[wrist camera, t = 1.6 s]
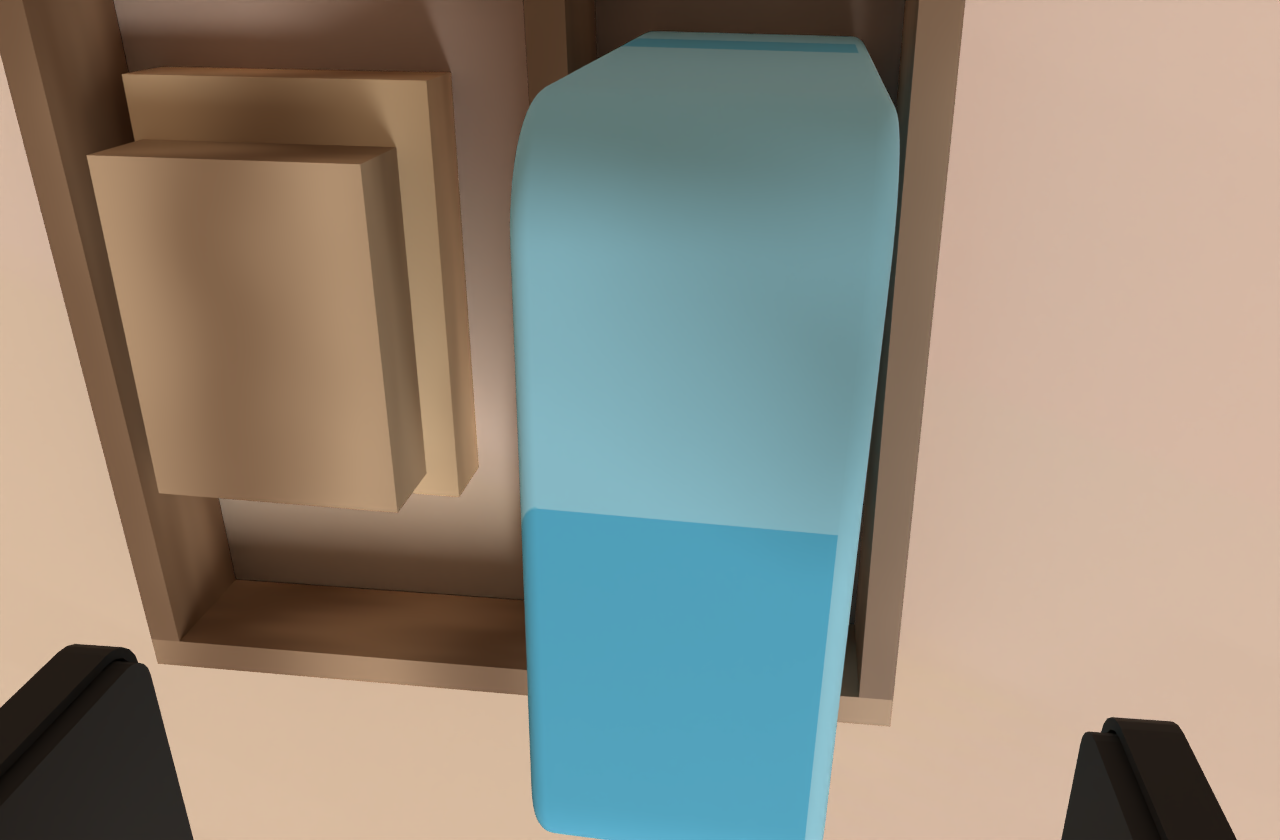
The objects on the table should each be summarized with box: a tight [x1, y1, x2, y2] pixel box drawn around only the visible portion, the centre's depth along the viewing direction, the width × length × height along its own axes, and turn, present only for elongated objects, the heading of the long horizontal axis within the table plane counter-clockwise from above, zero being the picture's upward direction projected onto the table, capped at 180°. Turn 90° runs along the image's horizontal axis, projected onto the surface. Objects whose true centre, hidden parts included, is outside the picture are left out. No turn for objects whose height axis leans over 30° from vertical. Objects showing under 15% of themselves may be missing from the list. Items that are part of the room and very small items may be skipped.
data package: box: [510, 31, 900, 840], centre depth 19 cm, size 12×4×12 cm, turn 179°
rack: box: [0, 0, 965, 726], centre depth 24 cm, size 19×20×3 cm
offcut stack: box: [87, 67, 479, 513], centre depth 25 cm, size 7×10×4 cm
